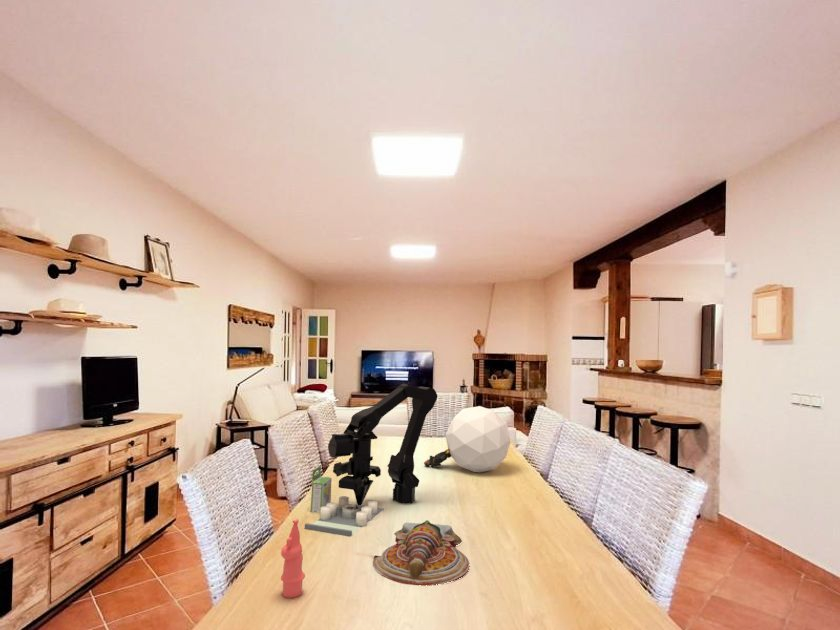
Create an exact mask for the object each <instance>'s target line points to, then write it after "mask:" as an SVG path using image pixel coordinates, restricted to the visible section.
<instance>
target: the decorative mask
mask: <svg viewBox="0 0 840 630" xmlns="http://www.w3.org/2000/svg"><path fill="white" fill-rule="evenodd" d="M393 535H394V536H395V542H396V543H394V544H393V545H391V546H388V547H387V548H386V549H385V550H384V551H383V552H382V553H381V555H375V556H374V557H373V558H372V567H373V569H374V571H375V572H376V573H377V574H378V575H380V576H381V577H384V578H385V579H387V580H390V581H392V582H396V583H399V584H403V585H410V586H419V585H421V587H429V586H430V587H431V586H432V585H433V586H439V585H438V584H441V585H445V584H444V583H447V582H451V581H454V580H457V579H459V578H461V577H462V578H464V577H465V576H466V575H467V574H468V573H469V571H470V569H469V567H470V568H471V566H469V564H470V561H469V559H468V557H467V556H466V555H465V554H464V553H463V552H462V551H460V550H458V549H457V547H455V546H456V545H458V544H460V543H461V542H462V543H463V541H462V538H461V537H460V536H458V534H456V533H455V532H454V530H453V528H452V526H451V525H449V524H439V523H431V522H430V521H429V520H425V521H423V522H422V523H419V522H418V523H417V522H416V523H415V522H404V523H403V524H402V528H401V529H399V530H397V531H395V532H394V534H393ZM468 570H469V571H468ZM467 572H468V573H467ZM466 573H467V574H466ZM465 574H466V575H465ZM464 575H465V576H464ZM463 576H464V577H463ZM462 578H461V579H462ZM459 580H460V579H459ZM457 581H458V580H457ZM454 582H455V581H454ZM451 583H452V582H451ZM436 584H437V585H436ZM447 584H448V583H447ZM426 585H427V586H426Z"/></svg>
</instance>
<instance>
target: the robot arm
mask: <svg viewBox="0 0 840 630" xmlns="http://www.w3.org/2000/svg"><path fill="white" fill-rule="evenodd" d="M408 398H411V406H412V411H411V415H410V417H409V420H408V424H407V427H406V430H405V433H404V437H403V440H402V443H401V445H400V447H399V451H398V452H397V453H396V454H395V455H394V454H391V456H390V459H389V461H388V464H387V465H386V466H387V468H388V469H387V474H388V476H389V477H390V479H391V481H392V483H393V484H394V488H393V489H392V501H393V502H397V504H402V505H403V504H405V505H406V504H413V503H414V502H415V501H416V488H417V487H418V486H419V484H420V480H419V478H418V477H417V475H415V474H414V469H415V461H414V455H415V452H416V448H417V446H418V443H419V440H420V436H421V433H422V430H423V427H424V425H425V420H426V417H427V415H428V414H429V413H430V412H431V411H432V410H433V408H434V406H435V404H436V402H437V399H438V394H437V391H436V389H435V388H432V387H425V386H418V387H415V386H412V385H411V384H405V383H402V384H400V385H398V386H397V388H395V389H393V391H391V392H390V393H389V394H387V395H386V396H384V397H383V398H381V399H380V400H379V401H378V402H377V403H375V404H374V405H372V406H370V407H367V408H364V409H361V410H359V411H357V412H356V413H354V414H353V415H352V416H351V419H350V422H349V423H348V425H347V427H346V428H345V429H344V431H343V433H339V434H338V433H332V434H331V438H330V439H329V443H328V444H327V445H328V446H327V449H328V450H327V451H328V454H329V457H331V458H340V457H341V458H342V457H347V456H351V457H349V458H348V461H345V462H341V461H339V462H336V463H334V464H333V467H332V469H333V470H332V473H334V474H335V475H336V477H340V476H343V475H345V476H343V477H341V478H339V480H338V488H339V489H345V490H352V491H353V493H354V496H355V500H356V503H357V504H356V505H362V506H363V503H364V501H365V500H366V496H367V494H368V492H369V490H370V488H371V487H372V484H373V483H374V480H373V479H370V477H369V476H371V475H374V476H375V478H378V477H380V476H381V474H382V473H381V471H382V469H381V467H380V466H378V465H371V461H373V459H374V456H372V455H371V452H372V449H371V448H372V440H377V439H378V436H377V435H376V434H375V432H374V431H373V430H374V429H376V427H377V426H378V425H379V423H380V422H381V419H383V418H384V416H386V415H387V414H388V413H389V412H390V411H392V410H393V409H395V408H396V407H397V406H398V405H400V404H402V402H404V401H405V400H406V399H408ZM346 474H347V475H346Z"/></svg>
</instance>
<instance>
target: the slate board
mask: <svg viewBox="0 0 840 630" xmlns="http://www.w3.org/2000/svg"><path fill="white" fill-rule="evenodd" d="M348 505H354V506H358V512H359V511H361V508H362V507H364V506H365V505H363V504H362V505H358V504H353V503H349V504H348ZM384 510H385V508H382V507H377V514H374V515H371V520H373V519H374V518H375V517H377V515H379V514H381V512H383V511H384ZM371 520H369V521H367V524H368V523H369V522H371ZM363 527H364V526H362V527H360V526H356V518H353V519H346V518H342V510H341V509H339V506H337V509H336V516H334V517H331V519H330V520H328V521H322V520H320V518H319V519H318V520H315V521H314V522H312V523H309V522H308V523H307V522H306V523H304V530H305V529H306V530H309V531H310V530H311V531H317V532H323V533H329V534H333V535H334V534H335V535H341V536H347V537H352V536H353V535H355V534H356V533H357V532H358V531H359V530H361V529H362V528H363Z"/></svg>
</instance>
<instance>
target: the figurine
mask: <svg viewBox="0 0 840 630" xmlns="http://www.w3.org/2000/svg"><path fill="white" fill-rule="evenodd" d="M299 522H300V521H299V519H297V518H296V519H293V520H292V523H293V525H292V528H291V530H290V533H289V535H288V538H287V539H286V544H285V545H283V547H281V550H280V551H281V552H280V555H281V557H282V558H283V559H284V561H283V569H282V570H283V571H282V574H281V576H280V580H281V582H282V596H283V597H285V598H289V599H291V598H297V597H299V596H301V595H302V594H303V582H304V581H303V580H304V579H305V578H306V574H305V572H303V561H304V560H303V559H304V557H303V547H302V544H301V534H300V530H299V526H298V525H299Z"/></svg>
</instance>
